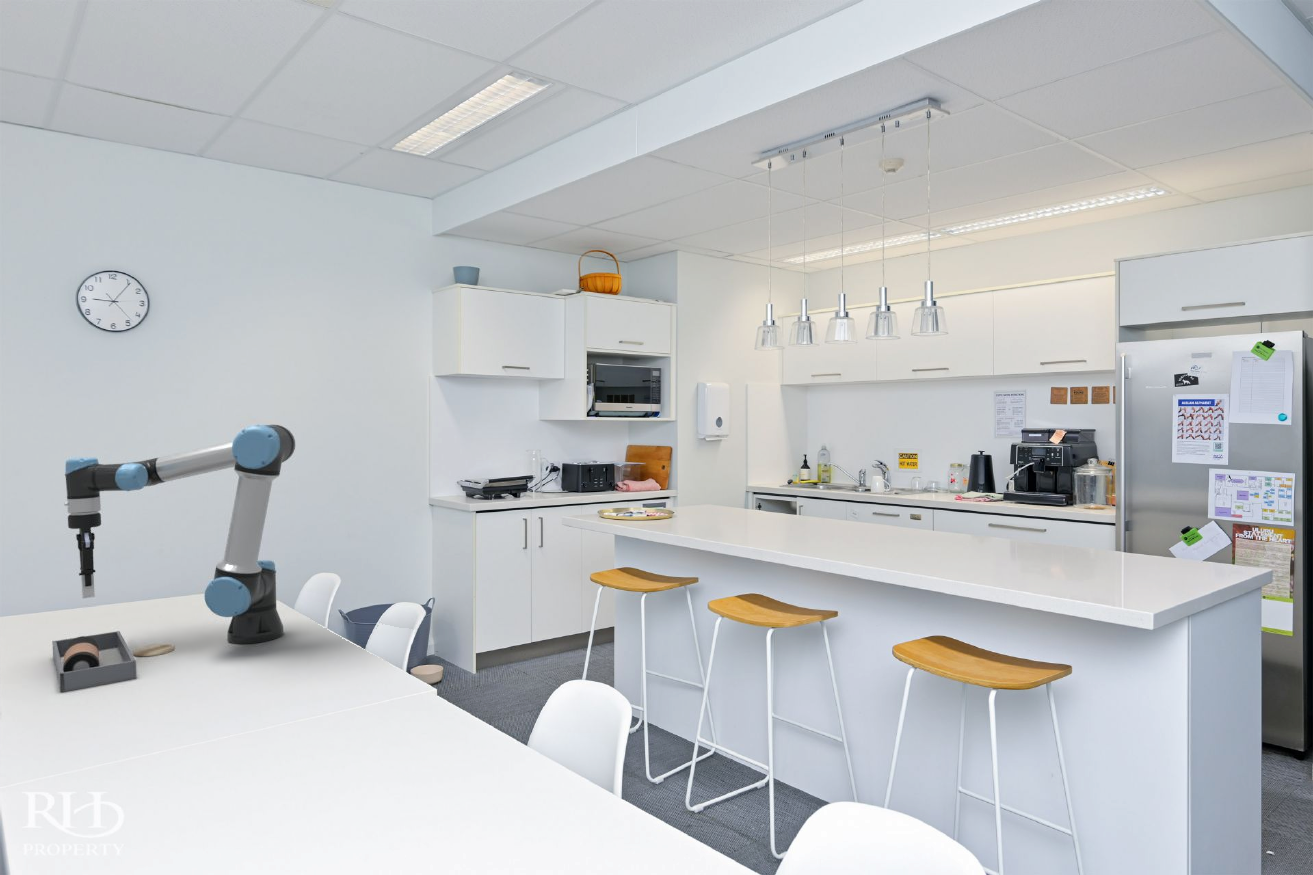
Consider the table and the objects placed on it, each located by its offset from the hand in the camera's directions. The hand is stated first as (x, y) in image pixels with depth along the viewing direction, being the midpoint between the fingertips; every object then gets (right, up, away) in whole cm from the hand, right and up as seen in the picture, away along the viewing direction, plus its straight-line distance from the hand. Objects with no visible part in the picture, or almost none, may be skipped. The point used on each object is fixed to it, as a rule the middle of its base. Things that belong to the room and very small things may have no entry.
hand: (88, 597), depth 225 cm
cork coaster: (+16, -16, +4) cm, 23 cm away
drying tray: (+8, -17, -10) cm, 21 cm away
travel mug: (+3, -13, -6) cm, 14 cm away
